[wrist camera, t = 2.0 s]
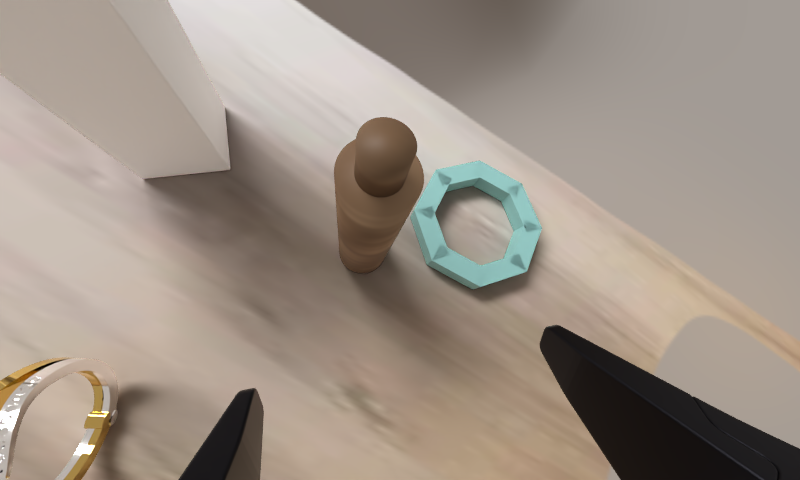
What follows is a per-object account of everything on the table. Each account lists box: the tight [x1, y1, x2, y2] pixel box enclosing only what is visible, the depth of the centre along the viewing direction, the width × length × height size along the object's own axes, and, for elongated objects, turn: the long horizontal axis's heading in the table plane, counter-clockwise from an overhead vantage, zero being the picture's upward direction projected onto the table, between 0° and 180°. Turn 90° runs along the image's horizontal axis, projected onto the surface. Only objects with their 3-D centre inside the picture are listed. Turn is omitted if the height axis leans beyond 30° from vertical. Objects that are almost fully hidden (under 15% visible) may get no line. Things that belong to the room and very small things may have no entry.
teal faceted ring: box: [410, 161, 542, 290], centre depth 24 cm, size 10×10×2 cm
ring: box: [0, 357, 118, 480], centre depth 14 cm, size 7×3×8 cm, turn 175°
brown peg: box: [334, 117, 424, 273], centre depth 16 cm, size 4×4×14 cm
